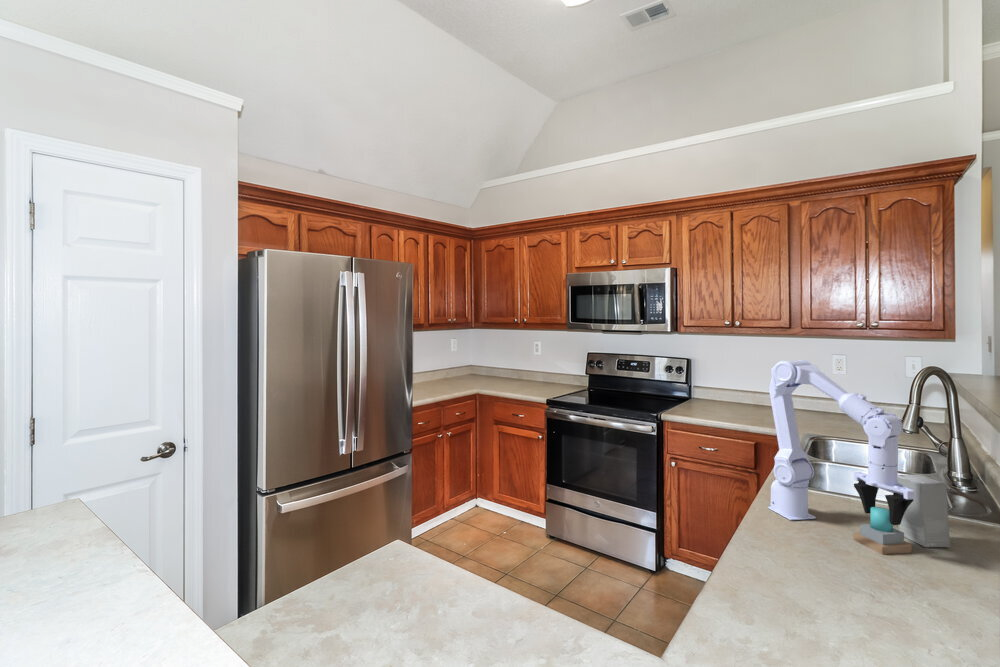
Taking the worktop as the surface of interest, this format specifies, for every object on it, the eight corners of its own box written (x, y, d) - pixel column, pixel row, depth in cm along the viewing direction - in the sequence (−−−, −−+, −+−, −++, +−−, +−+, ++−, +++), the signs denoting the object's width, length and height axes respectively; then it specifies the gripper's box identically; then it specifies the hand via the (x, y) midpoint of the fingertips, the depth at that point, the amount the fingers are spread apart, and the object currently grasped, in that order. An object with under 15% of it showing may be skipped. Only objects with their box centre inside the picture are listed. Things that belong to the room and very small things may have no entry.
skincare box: (950, 548, 120) (952, 483, 119) (920, 548, 120) (922, 483, 119) (921, 533, 128) (922, 473, 128) (893, 533, 128) (894, 472, 128)
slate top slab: (860, 534, 123) (860, 524, 123) (880, 532, 124) (880, 522, 124) (882, 545, 117) (882, 534, 117) (904, 543, 119) (904, 532, 119)
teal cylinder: (865, 525, 123) (866, 507, 123) (881, 524, 124) (881, 506, 123) (881, 532, 119) (881, 514, 119) (897, 531, 119) (898, 513, 119)
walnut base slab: (853, 542, 125) (853, 532, 125) (880, 540, 126) (880, 530, 126) (882, 557, 117) (882, 546, 117) (911, 554, 118) (911, 544, 118)
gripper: (843, 456, 127) (842, 508, 128) (896, 473, 113) (895, 531, 113) (867, 454, 128) (866, 506, 129) (923, 471, 114) (922, 529, 114)
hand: (882, 518), depth 121 cm, fingers open, 6 cm apart
